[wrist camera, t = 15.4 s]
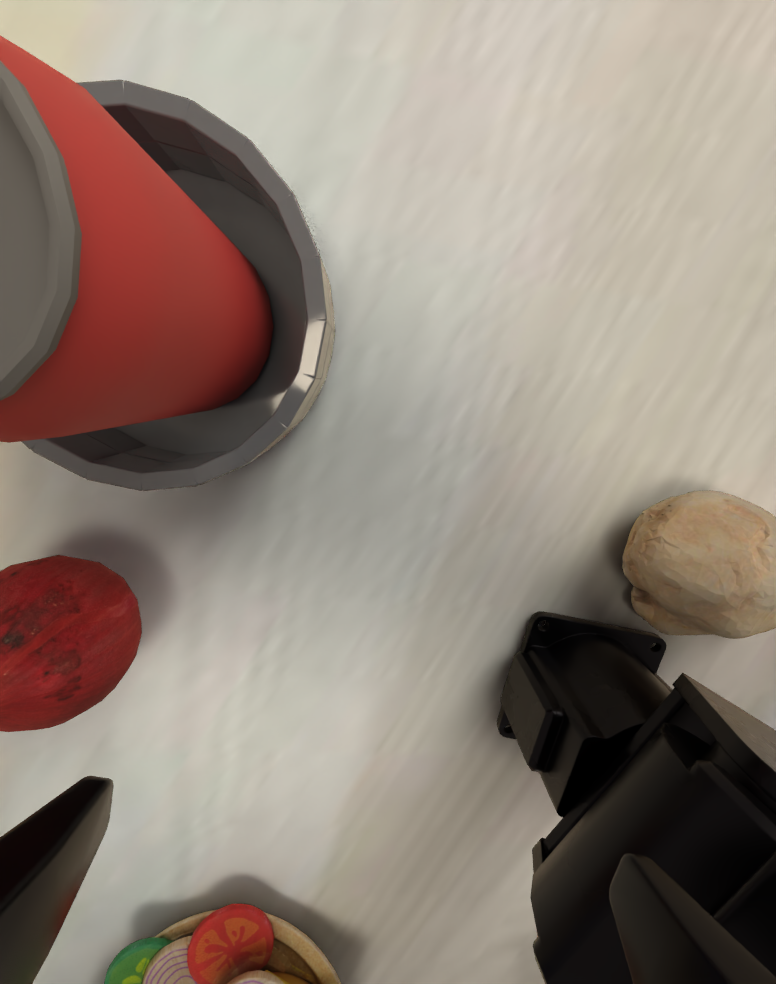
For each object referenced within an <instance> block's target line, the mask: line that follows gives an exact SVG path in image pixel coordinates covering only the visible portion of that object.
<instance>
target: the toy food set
mask: <svg viewBox="0 0 776 984" xmlns="http://www.w3.org/2000/svg"><path fill="white" fill-rule="evenodd" d="M104 984H341V982H340V980H339V978H338V976H337V974H336V972H335V970H334V968H333V967H332V965H331V963H330V962H329V960H328V959H327V958H326V956H325V955H324V953H323V952H322V951H321V950H320V948H319V947H318V946H317V945H316V944H315V943H314V942H313V941H312V940H311V939H310V938H309V937H308V936H307V935H306V934H304V933H303V932H302V931H300V930H299V929H298V928H296V927H295V926H293V925H292V924H290V923H288V922H287V921H285V920H283V919H280V918H278V917H276V916H274V915H271V914H268V913H264V912H263V911H262V910H260V909H259V908H257V907H255V906H252V905H248V904H230V905H227V906H225V907H222V908H220V909H217V910H212V911H207V912H203V913H200V914H196V915H193V916H191V917H188V918H186V919H184V920H181V921H179V922H177V923H175V924H174V925H172V926H170V927H168V928H167V929H165V930H164V931H162V932H161V933H159V934H158V935H157V936H155V937H150V938H146V939H141V940H138V941H136V942H134V943H132V944H130V945H128V946H127V947H125V948H124V949H123V950H122V951H120V952H119V953H118V955H117V956H116V957H115V958H114V960H113V961H112V963H111V964H110V966H109V968H108V971H107V974H106V977H105V982H104Z"/></svg>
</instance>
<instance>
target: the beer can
mask: <svg viewBox="0 0 776 984" xmlns="http://www.w3.org/2000/svg"><path fill="white" fill-rule="evenodd" d="M273 327H274V326H273V320H272V313H271V307H270V300H269V296H268V294H267V291H266V289H265V287H264V285H263V283H262V281H261V279H260V277H259V274H258V272H257V270H256V268H255V267H254V266H253V265H252V264H251V263H250V262H249V260H248V259H247V258H246V257H245V256H244V255H243V254H242V253H241V251H240V250H239V249H238V248H237V247H236V246H235V245H234V244H233V243H232V242H231V241H230V239H229V238H228V237H227V236H226V235H225V234H224V233H223V232H222V231H221V230H220V229H219V228H218V227H217V226H216V225H215V224H214V223H213V222H212V221H211V220H210V219H209V218H208V217H207V215H206V214H205V213H204V212H203V211H202V210H201V209H200V208H199V207H198V206H197V205H196V204H195V203H194V202H193V201H192V200H191V199H190V198H189V197H188V196H187V195H186V194H185V192H184V191H183V190H182V189H181V188H180V187H179V186H178V185H177V184H176V183H175V182H174V181H173V180H172V179H171V178H170V177H169V176H168V175H167V174H166V173H165V172H164V171H163V169H162V168H161V167H160V166H159V165H158V164H157V163H156V162H155V161H154V160H153V159H152V158H151V157H150V156H149V155H148V154H147V153H146V152H145V151H144V150H143V149H142V148H141V147H140V145H139V144H138V143H137V142H136V141H135V140H134V139H133V138H132V137H131V136H130V135H129V134H128V133H127V132H126V131H125V130H124V129H123V128H122V127H121V126H120V125H119V124H118V122H117V121H116V120H115V119H114V118H113V117H112V116H111V115H110V114H109V113H108V112H107V111H106V110H105V109H104V108H103V107H102V106H101V105H100V104H99V103H98V102H97V101H96V100H95V98H94V97H93V96H92V95H91V94H90V93H89V92H88V91H87V90H86V89H85V88H83V87H82V86H80V85H79V84H77V83H75V82H74V81H72V80H71V79H69V78H68V77H66V76H64V75H63V74H61V73H60V72H58V71H57V70H55V69H53V68H52V67H50V66H49V65H47V64H45V63H44V62H42V61H41V60H39V59H38V58H36V57H34V56H33V55H31V54H30V53H28V52H27V51H25V50H23V49H22V48H20V47H18V46H17V45H15V44H13V43H12V42H10V41H8V40H7V39H5V38H3V37H2V36H0V441H1V442H18V441H27V440H36V439H45V438H55V437H64V436H69V435H75V434H80V433H86V432H92V431H97V430H103V429H108V428H114V427H119V426H125V425H130V424H136V423H142V422H147V421H153V420H158V419H164V418H169V417H175V416H181V415H186V414H192V413H197V412H203V411H208V410H213V409H216V408H218V407H220V406H222V405H224V404H226V403H228V402H231V401H233V400H235V399H237V398H238V397H239V396H240V395H241V394H242V393H243V392H244V391H246V390H247V389H248V388H249V387H250V386H251V385H252V384H253V383H254V382H255V381H256V380H257V378H258V376H259V374H260V372H261V370H262V368H263V366H264V364H265V362H266V360H267V358H268V356H269V353H270V346H271V340H272V333H273Z"/></svg>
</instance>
